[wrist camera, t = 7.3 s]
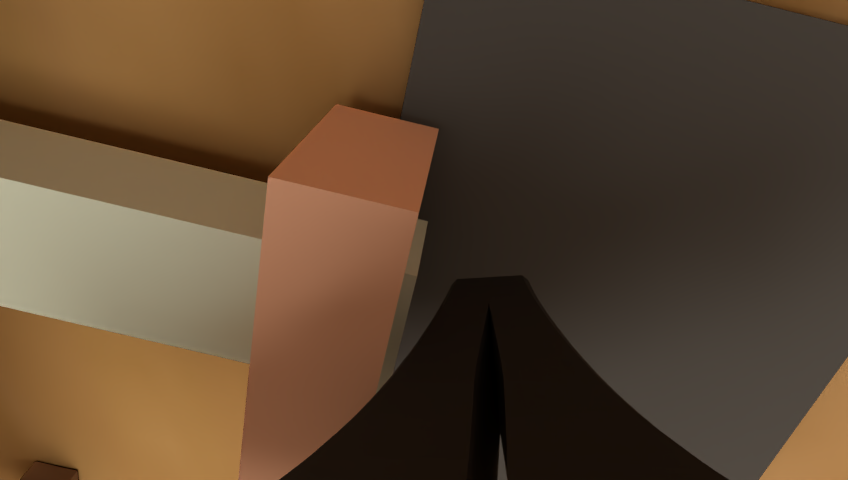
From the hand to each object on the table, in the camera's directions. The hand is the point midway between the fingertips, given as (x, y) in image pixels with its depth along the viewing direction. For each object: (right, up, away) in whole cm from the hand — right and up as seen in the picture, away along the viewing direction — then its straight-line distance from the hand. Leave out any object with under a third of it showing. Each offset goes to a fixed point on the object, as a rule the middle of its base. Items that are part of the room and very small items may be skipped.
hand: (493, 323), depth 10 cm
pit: (+3, 0, +2) cm, 3 cm away
